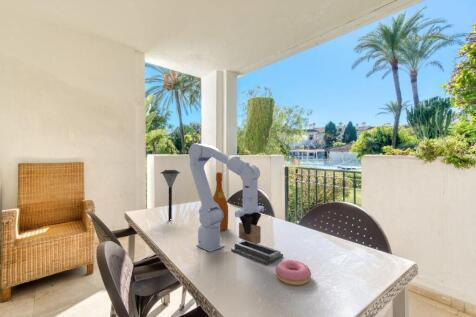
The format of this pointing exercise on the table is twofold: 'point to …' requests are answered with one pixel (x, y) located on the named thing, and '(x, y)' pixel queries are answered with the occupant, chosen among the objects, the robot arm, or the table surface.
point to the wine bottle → (221, 201)
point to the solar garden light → (170, 185)
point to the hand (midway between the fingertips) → (249, 232)
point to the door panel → (254, 233)
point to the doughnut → (293, 272)
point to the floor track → (257, 252)
